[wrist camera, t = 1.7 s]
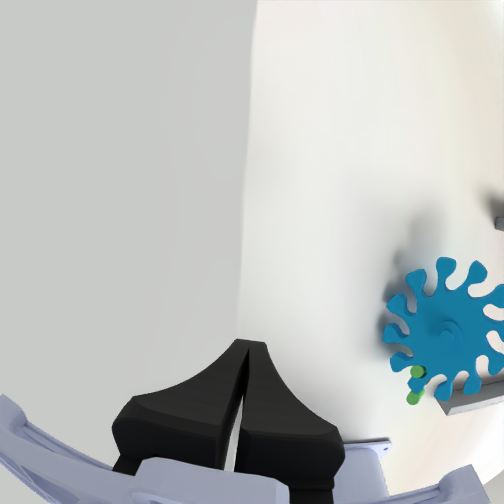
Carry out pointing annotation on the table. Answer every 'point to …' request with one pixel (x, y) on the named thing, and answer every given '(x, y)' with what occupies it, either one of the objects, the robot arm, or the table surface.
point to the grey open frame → (487, 392)
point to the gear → (445, 331)
